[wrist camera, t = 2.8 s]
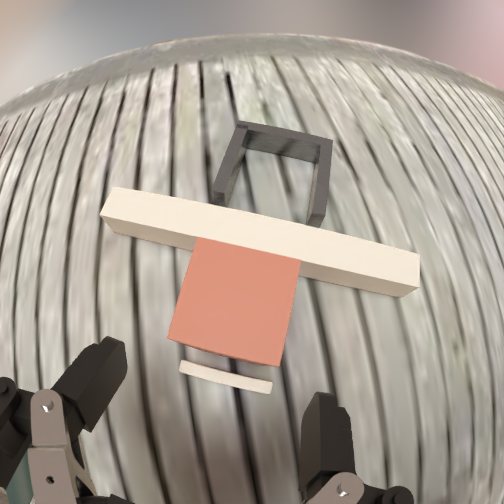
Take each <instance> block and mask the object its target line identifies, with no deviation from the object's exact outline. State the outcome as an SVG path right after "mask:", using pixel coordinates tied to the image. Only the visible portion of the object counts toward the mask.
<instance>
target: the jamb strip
mask: <svg viewBox="0 0 504 504" xmlns="http://www.w3.org/2000/svg"><path fill="white" fill-rule="evenodd" d="M100 216H101V217H102V218H103V220H104V221H105V222H106V223H107V224H108V226H109V227H110V228H111V229H112V230H113V232H115V233H119V234H123V235H128V236H132V237H136V238H140V239H144V240H148V241H152V242H156V243H160V244H164V245H169V246H173V247H177V248H181V249H185V250H190V251H193V250H194V247H195V244H196V241H197V238H198V237H202V238H207V239H211V240H216V241H220V242H225V243H229V244H234V245H238V246H242V247H247V248H251V249H256V250H260V251H265V252H269V253H273V254H278V255H282V256H287V257H291V258H295V259H300V260H301V262H300V268H299V273H298V276H302V277H307V278H311V279H316V280H320V281H325V282H329V283H334V284H338V285H343V286H348V287H352V288H357V289H361V290H366V291H371V292H375V293H380V294H385V295H389V296H394V297H399V298H400V297H402V296H404V295H406V294H408V293H410V292H412V291H414V290H415V289H417V288H419V275H420V255H419V254H416V253H412V252H409V251H405V250H401V249H398V248H394V247H390V246H387V245H383V244H379V243H375V242H371V241H368V240H364V239H360V238H356V237H352V236H348V235H344V234H340V233H336V232H332V231H328V230H324V229H320V228H316V227H311V226H307V225H303V224H299V223H294V222H290V221H286V220H281V219H277V218H272V217H268V216H263V215H259V214H254V213H250V212H245V211H240V210H236V209H231V208H226V207H221V206H216V205H211V204H206V203H201V202H196V201H191V200H186V199H181V198H176V197H170V196H165V195H159V194H154V193H148V192H143V191H137V190H131V189H125V188H119V187H113V188H112V190H111V192H110V194H109V196H108V198H107V200H106V202H105V205H104V207H103V209H102V211H101V213H100ZM179 372H182V373H185V374H189V375H192V376H195V377H199V378H203V379H206V380H210V381H214V382H217V383H221V384H225V385H229V386H233V387H238V388H242V389H246V390H251V391H256V392H260V393H265V394H270V393H271V389H272V384H273V382H271V381H266V380H262V379H257V378H252V377H248V376H243V375H239V374H235V373H231V372H227V371H223V370H219V369H215V368H211V367H208V366H204V365H200V364H197V363H193V362H190V361H186V360H181V364H180V368H179Z"/></svg>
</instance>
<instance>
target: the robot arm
mask: <svg viewBox="0 0 504 504" xmlns="http://www.w3.org/2000/svg"><path fill="white" fill-rule="evenodd" d="M126 373H127V359H126V352H125V344H124V342H122V341H119V340H117V339H114V338H112V337H109V336H107V337H105V338H104V339H103V340H102V342H101V343H100V344H99V345H97V344H95V343H94V344H92V345H90V346H88V347H86V348H85V349H84V350H83V351H82V352H81V353H80V354H79V356H78V358H76V359H75V360H74V361H73V363H72V365H70V366H69V367H68V369H67V370H66V371H65V372H64V374H63V375H62V376H61V377H60V378H59V380H58V381H57V382H56V383H55V385H54V386H53V387H52V388H51V389H42V390H39V391H37V392H36V393H33V392H29V391H25V390H22V389H18V388H17V386H16V384H15V383H14V381H13V380H12V379H10V378H8V377H0V504H10V503H9V500H8V496H7V493H6V489H7V487H8V485H9V483H10V481H11V479H12V477H13V475H14V473H15V471H16V469H17V467H18V466H19V464H20V462H21V460H22V458H23V457H24V455H25V453H26V451H27V449H28V462H29V470H30V476H31V483H32V488H33V494H34V499H35V503H36V504H134V503H132V502H129V501H127V500H125V499H122V498H120V497H118V496H115V495H113V494H111V495H110V497H104V496H97V493H96V490H95V487H94V484H93V482H92V480H91V478H90V476H89V473H88V470H87V466H86V461H85V457H84V453H83V448H82V443H81V438H80V432H81V431H82V429H85V430H87V431H89V432H92V430H93V429H94V427H95V425H96V424H97V422H98V420H99V419H100V417H101V415H102V414H103V412H104V411H105V409H106V407H107V406H108V404H109V402H110V401H111V399H112V398H113V396H114V394H115V393H116V391H117V390H118V388H119V386H120V385H121V383H122V382H123V380H124V378H125V376H126ZM31 443H32V446H31V447H29V446H30V444H31ZM298 491H303V492H307V495H306V500H304V501H303V502H302V503H301V504H414V499H413V495H412V493H411V492H410V491H409V490H408V489H407V488H405V487H402V486H394V487H392V488H390V489H388V490H383V489H379V488H375V487H371V486H368V485H366V484H364V483H363V482H362V480H361V479H360V478H359V477H358V476H357V474H356V471H355V461H354V450H353V440H352V431H351V422H350V417H349V415H348V413H347V412H346V410H345V408H344V407H337V403H336V396H335V394H331V393H323V392H316V393H315V394H314V396H313V398H312V400H311V402H310V404H309V405H308V407H307V409H306V411H305V413H304V415H303V419H302V425H301V452H300V473H299V489H298Z"/></svg>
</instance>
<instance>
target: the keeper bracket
mask: <svg viewBox="0 0 504 504" xmlns="http://www.w3.org/2000/svg"><path fill="white" fill-rule="evenodd" d="M332 144H333V140H330V139H326V138H323V137H319V136H314V135H310V134H306V133H302V132H297V131H293V130H288V129H283V128H278V127H273V126H268V125H263V124H257V123H251V122H245V121H238V124H237V126H236V129H235V131H234V134H233V136H232V139H231V141H230V143H229V146H228V149H227V151H226V154H225V156H224V159H223V161H222V164H221V166H220V169H219V172H218V174H217V177H216V180H215V182H214V185H213V188H212V190H211V191H212V197H213V203H214V205H216V206H221V207H226V208H227V206H228V203H229V200H230V196H231V193H232V190H233V187H234V184H235V181H236V178H237V175H238V172H239V169H240V166H241V163H242V160H243V157H244V154H245V152H246V149H247V148H248V149H254V150H259V151H264V152H269V153H274V154H279V155H283V156H288V157H292V158H297V159H301V160H305V161H310V162H314V163H315V168H314V175H313V182H312V189H311V196H310V202H309V209H308V215H307V221H306V225H307V226H311V227H316V228H319V227H320V225H321V223H322V221H323V219H324V217H325V213H326V205H327V196H328V187H329V177H330V167H331V156H332Z"/></svg>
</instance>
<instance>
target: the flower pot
mask: <svg viewBox="0 0 504 504" xmlns="http://www.w3.org/2000/svg"><path fill="white" fill-rule="evenodd" d="M29 447H31V444H30V446H29ZM6 493H7V496H8V500H9V503H10V504H30V502H31V500H32V497H33V495H34V494H33V488H32V483H31V476H30V470H29V462H28V449H27V451H26V453H25V455H24V457H23V458H22V460H21V462H20V464H19V466H18V467H17V469H16V471H15V473H14V475H13V477H12V479H11V481H10V483H9V485H8V487H7V489H6Z"/></svg>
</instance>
